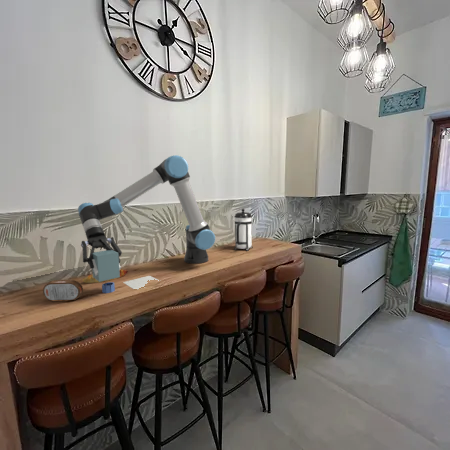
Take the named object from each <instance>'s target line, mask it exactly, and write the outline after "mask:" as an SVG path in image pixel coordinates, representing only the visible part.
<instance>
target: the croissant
mask: <svg viewBox="0 0 450 450" xmlns="http://www.w3.org/2000/svg"><path fill="white" fill-rule="evenodd" d="M128 272H129V271H128V270H127V269H121V268H120V277H118V278H114V279H110V280H105V281H101V282H99V281H97V280H96V279H95V278H93V273H92V274H89V275H87V276H86V277H84V278H83V279H82V282H83V283H85V284H95V283H98V284H99V283H107V282H112V281H113V280H117V279H120V278H122V277H124V276H125V275H126V274H128Z"/></svg>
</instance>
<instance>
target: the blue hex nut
mask: <svg viewBox="0 0 450 450" xmlns="http://www.w3.org/2000/svg"><path fill="white" fill-rule="evenodd" d="M115 285H116V284H115V282H113V281H106V282H103V283H102V284H101V291H102V294H109V293H110V294H111V293H114V292H116V288H115V287H116V286H115Z"/></svg>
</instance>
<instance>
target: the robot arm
mask: <svg viewBox="0 0 450 450" xmlns="http://www.w3.org/2000/svg"><path fill="white" fill-rule="evenodd" d="M190 179H191V176H190V174H189V164H188V161H187V160H186V159H185V158H184V157H183V156H181V155H179V154H178V155H171V156H168V157H167V158H165V159H164V160H163V161H162V162H161V163H160V164H159V165H157V166H156V167H154V168H152V171H151V172H150V173H149V174H147V175H145V176H143V177H142V178H140V179H138V180H137V181H135V182H134V183H131V185H129V186H127V187H126V188H124V189H122V190H121V191H119V192H118V193H116V194H115V195H113V196H111V197H110V198H108V199H107V200H105V201H103V202H100V203H98V204H93V203H92V202H83V203H81V204H80V205H79V206H78V208H77V210H78V211H77V212H78V216H79V220H80V222H81V224H82V227H83V230H84V233H85V237H86V239H87V240H86V241H85V240H82V241H81V243H80V246H81V248H82V262H83V263H87V264H88V265H89V268H90V269H91V270H92V269H93V270H94V273H95V276H97V275H98V269H97V266H96V263H95V260H94V259H93V260H92V257H93V255H92V253H94V252H95V249H104V250H105V251H106V250H113V251H116V252H118V257H119V271H120V269H121V268H122V266H121V265H120V264H121V258H120V257H121V256H122V253H123V252H122V250H121V249H120V247H119V246H118V245H117V243H116V241H115V238H114V237H113V236H111V237H109V238H108V237H107V236H106V234H105V231H104V228H103V225H102V224H101V220H104V219H106V218H109V217H112V216H116V215H118V214H121V213H122V212H124V208H123V207H125V206H127V205H129V204H130V203H132V202H133V201H134V200H136V199H138V198H139V197H142V195H144V194H146V193H147V192H149V191H150V190H152V189H154V188H155V187H157V186H158V185H160V184H162V185H163V184H165V183H167V182H168V183H169V185H170V186H172V187H173V189H174V191H175V194H176V195H177V197H178V201H179V202H180V205H181V208H182V210H183V212H184V215H185V218H186V220H187V223H188V224H187V225H186V227H185V236H186V237H185V238H186V240H185V243H186V251H185V254H184V257H183V261H184V263H187V264H193V265H194V264H202V263H203V264H204V263H207V262H208V261H209V255H208V250H209V249H210V248H212V247H213V246H214V245H215V243H216V235H215V233H214V232H213V231H212V230H211V229H210V228H211V227H210V226H209V223H208V222H207V221H205V220H204V218H203V215H202V212H201V209H200V207H199V205H198V201H197V199H196V197H195V194H194V191H193V189H192V187H191V184H190ZM88 245H89V246H91V249H90V253H89V256H88V251H87V250H88V249H87V246H88Z"/></svg>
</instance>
